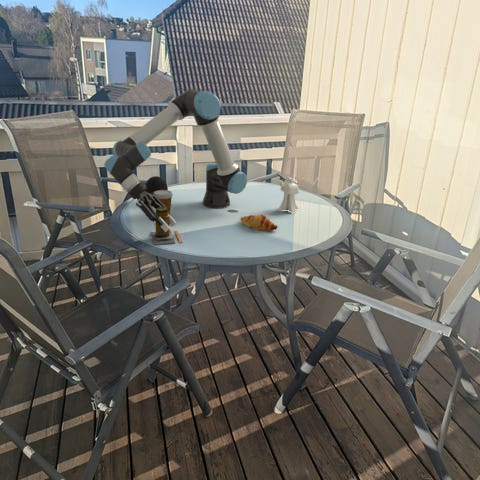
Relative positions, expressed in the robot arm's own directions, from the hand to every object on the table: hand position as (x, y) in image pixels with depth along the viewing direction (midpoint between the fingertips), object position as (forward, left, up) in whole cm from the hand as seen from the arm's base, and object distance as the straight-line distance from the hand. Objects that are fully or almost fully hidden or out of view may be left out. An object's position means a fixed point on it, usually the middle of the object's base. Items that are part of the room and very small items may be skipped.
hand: (171, 227), depth 179 cm
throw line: (-3, -2, -6) cm, 7 cm away
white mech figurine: (-68, -28, -6) cm, 74 cm away
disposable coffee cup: (-1, -33, -6) cm, 33 cm away
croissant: (-43, -7, -6) cm, 44 cm away
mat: (+4, -2, -6) cm, 7 cm away
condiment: (+3, -1, -4) cm, 6 cm away
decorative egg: (0, -54, -6) cm, 54 cm away
